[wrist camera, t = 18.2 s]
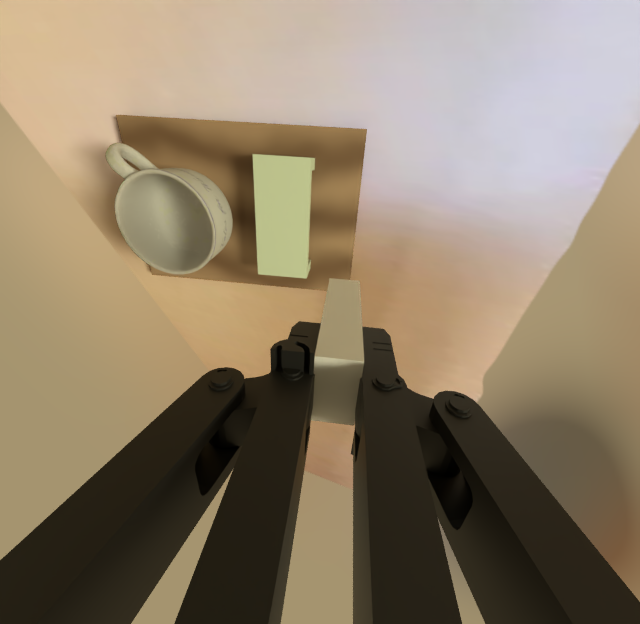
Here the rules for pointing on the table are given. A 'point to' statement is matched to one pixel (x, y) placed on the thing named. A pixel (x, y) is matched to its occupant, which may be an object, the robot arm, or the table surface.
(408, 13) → the table surface
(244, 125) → the board
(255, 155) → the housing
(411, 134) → the table surface
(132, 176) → the teacup
